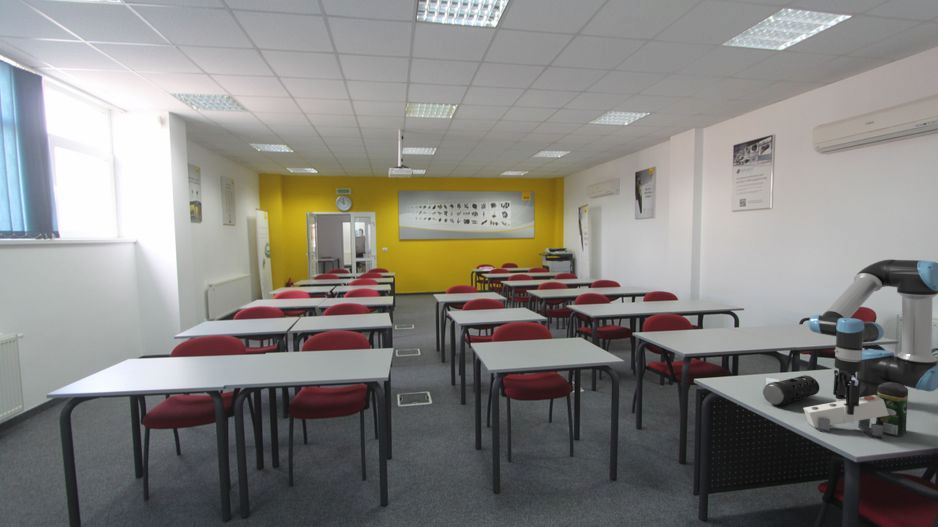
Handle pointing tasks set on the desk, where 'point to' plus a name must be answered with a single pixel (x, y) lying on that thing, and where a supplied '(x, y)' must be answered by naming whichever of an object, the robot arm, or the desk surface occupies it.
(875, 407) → the socket bar
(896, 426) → the coffee jar
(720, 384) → the desk surface
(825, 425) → the bracket far
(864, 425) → the bracket near
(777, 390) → the muzzle brake
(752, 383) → the desk surface
